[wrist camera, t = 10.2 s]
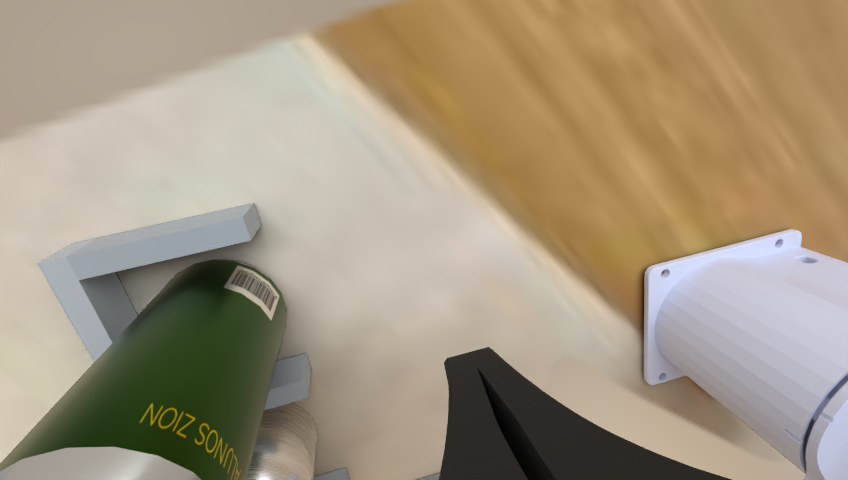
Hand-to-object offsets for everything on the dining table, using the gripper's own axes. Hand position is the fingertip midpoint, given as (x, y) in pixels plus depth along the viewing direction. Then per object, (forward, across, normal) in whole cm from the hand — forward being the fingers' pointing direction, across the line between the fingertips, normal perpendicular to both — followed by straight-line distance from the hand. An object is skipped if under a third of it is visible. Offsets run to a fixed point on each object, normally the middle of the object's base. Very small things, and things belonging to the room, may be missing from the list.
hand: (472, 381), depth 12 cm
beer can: (+9, +9, 0) cm, 13 cm away
